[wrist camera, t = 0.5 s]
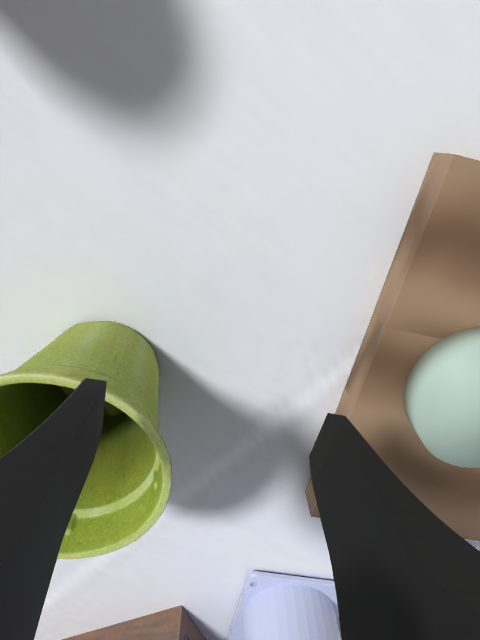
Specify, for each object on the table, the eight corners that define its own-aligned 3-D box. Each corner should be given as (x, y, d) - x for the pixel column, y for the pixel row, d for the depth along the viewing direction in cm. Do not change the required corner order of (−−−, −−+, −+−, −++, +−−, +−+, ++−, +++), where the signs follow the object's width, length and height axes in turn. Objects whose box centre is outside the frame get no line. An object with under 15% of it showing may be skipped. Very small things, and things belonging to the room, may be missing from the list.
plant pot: (221, 355, 24) (219, 462, 17) (130, 456, 27) (90, 589, 19) (79, 255, 22) (-4, 325, 14) (-6, 378, 25) (-117, 495, 17)
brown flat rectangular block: (466, 516, 30) (482, 540, 28) (305, 492, 29) (310, 516, 27) (650, 207, 22) (689, 214, 20) (433, 152, 20) (454, 154, 18)
